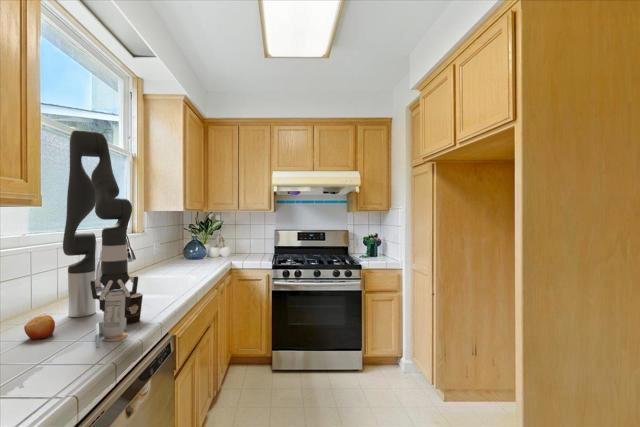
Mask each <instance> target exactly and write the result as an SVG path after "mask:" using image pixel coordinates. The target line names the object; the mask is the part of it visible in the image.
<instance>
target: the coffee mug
mask: <svg viewBox="0 0 640 427" xmlns="http://www.w3.org/2000/svg"><path fill="white" fill-rule="evenodd" d="M143 294H144V293H142V292H136V294H134V295H132V296H131V297H130V306H128V308H126V307H125V318H126V326H127V325H135V324H136V323H140V321H141V314H142V313H141V312H142V306H143V305H142V304H143V296H144V295H143ZM125 295H126V294H125Z"/></svg>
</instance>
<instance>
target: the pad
mask: <svg viewBox="0 0 640 427" xmlns="http://www.w3.org/2000/svg"><path fill="white" fill-rule="evenodd" d="M128 335H129V334H128V333H127V332H124V333H122V336H120V337H118V338H111V339H109V338H105V336H103V337H102V339H103V341H105V342H115V341H120V340H123V339H126V338H127V337H129V336H128Z"/></svg>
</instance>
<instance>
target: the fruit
mask: <svg viewBox="0 0 640 427" xmlns="http://www.w3.org/2000/svg"><path fill="white" fill-rule="evenodd" d="M55 328H56V322H55V319H54V318H53V317H52V315H48V314H44V315H40V316H39V315H38V316H36V317H33V318H32V319H30V320H29V321H28V322H26V324H25V325H24V327H23V330H24V333H25V334H26V336H27V337H28V338H29V339H31V340H41V339H48V338H49V337H51V336H52V335H53V334H54V332H55Z"/></svg>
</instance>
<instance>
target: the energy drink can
mask: <svg viewBox="0 0 640 427" xmlns="http://www.w3.org/2000/svg"><path fill="white" fill-rule="evenodd" d="M125 298H126V295H125V293H124V291H123V290H122V288H121V289H114V290H108V292H107V294H106V295H105V297H104V300H105V311H103V334H102V336H103V337H105V338H109V339H111V338H118V337H120V336H122V333H125V330H124V318H125Z"/></svg>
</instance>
